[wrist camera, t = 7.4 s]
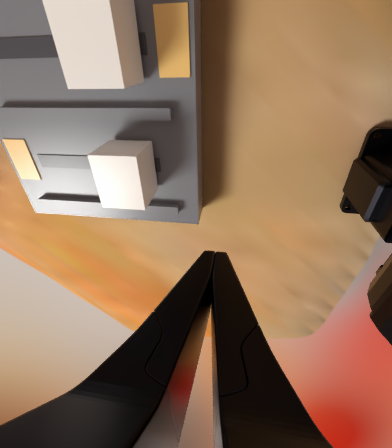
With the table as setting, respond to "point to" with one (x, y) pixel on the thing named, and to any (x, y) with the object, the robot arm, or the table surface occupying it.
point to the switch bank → (103, 112)
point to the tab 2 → (124, 173)
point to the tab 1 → (96, 42)
